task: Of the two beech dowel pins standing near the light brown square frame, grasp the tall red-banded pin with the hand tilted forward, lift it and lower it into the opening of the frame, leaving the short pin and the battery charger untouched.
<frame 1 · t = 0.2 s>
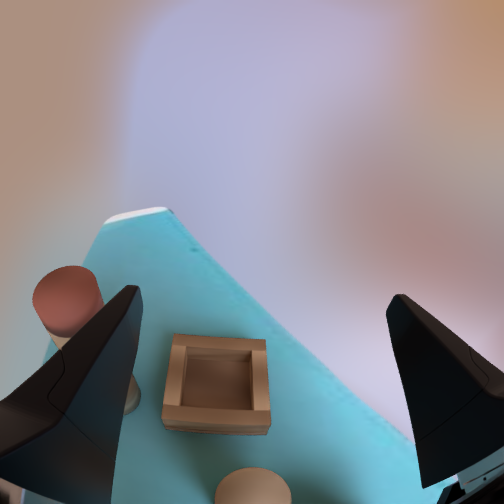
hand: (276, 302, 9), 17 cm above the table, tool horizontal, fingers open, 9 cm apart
short pin: (242, 502, 15), on the table
light brown square frame: (217, 391, 23), on the table
long pin: (118, 394, 21), on the table
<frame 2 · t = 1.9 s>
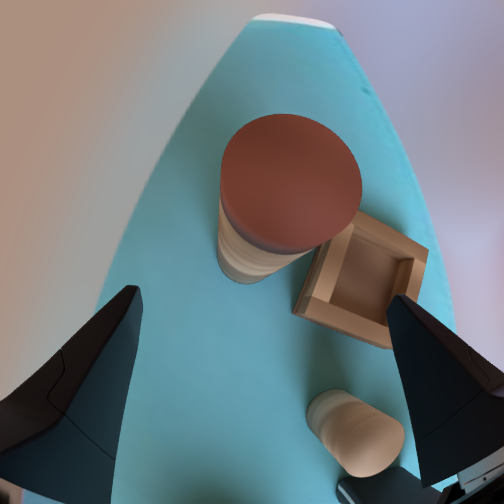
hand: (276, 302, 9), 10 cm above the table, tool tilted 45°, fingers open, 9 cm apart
short pin: (331, 412, 19), on the table
battery charger: (366, 485, 18), on the table
light brown square frame: (357, 282, 21), on the table
long pin: (246, 255, 20), on the table
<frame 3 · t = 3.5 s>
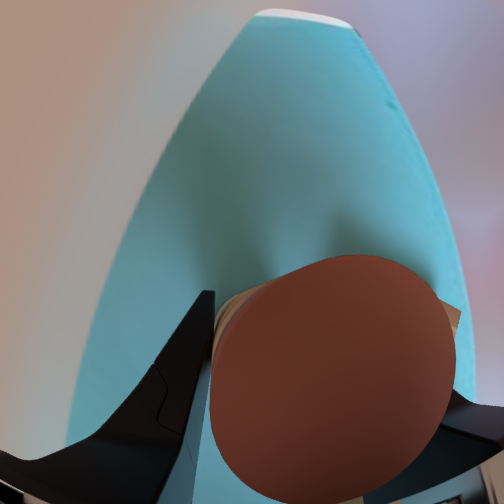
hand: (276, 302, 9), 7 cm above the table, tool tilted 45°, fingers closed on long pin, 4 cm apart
light brown square frame: (379, 349, 17), on the table
long pin: (249, 327, 16), on the table, touching gripper
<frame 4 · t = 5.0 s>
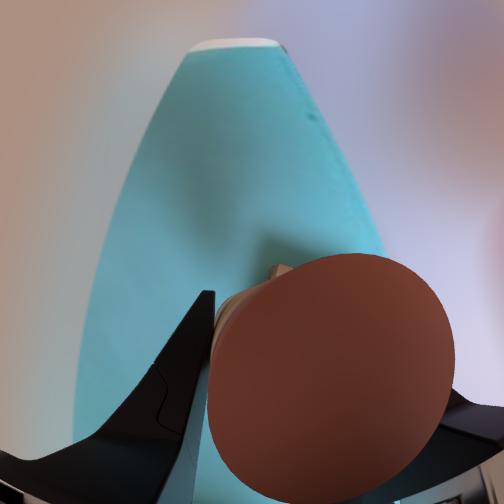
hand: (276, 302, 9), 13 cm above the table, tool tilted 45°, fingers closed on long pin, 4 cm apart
battery charger: (337, 497, 20), on the table
long pin: (249, 326, 16), point 6 cm above the table, touching gripper
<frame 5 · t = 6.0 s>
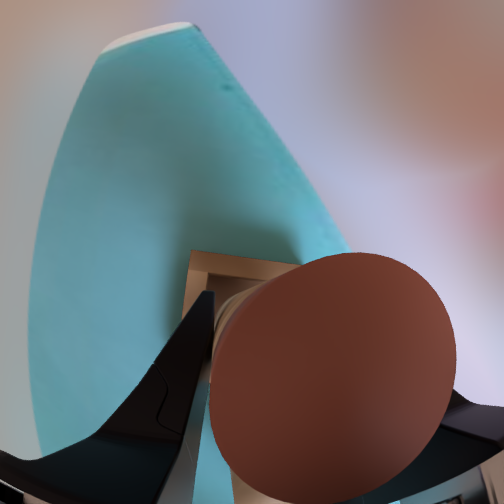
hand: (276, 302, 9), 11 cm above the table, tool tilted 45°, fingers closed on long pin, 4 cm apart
short pin: (254, 448, 18), on the table
battery charger: (327, 500, 18), on the table
light brown square frame: (243, 320, 20), on the table
long pin: (249, 326, 16), point 4 cm above the table, touching gripper
when the fingers open (8 cm above the table, at t = 6.8 s): long pin stays where it is, resting on light brown square frame.
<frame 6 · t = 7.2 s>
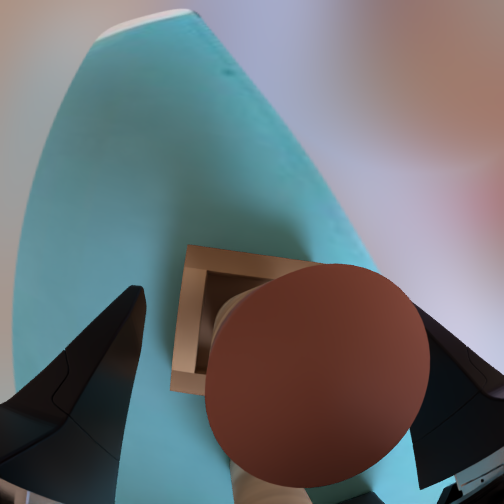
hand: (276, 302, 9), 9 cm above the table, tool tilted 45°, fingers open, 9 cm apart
short pin: (258, 464, 16), on the table
light brown square frame: (247, 325, 18), on the table
long pin: (248, 327, 17), point 1 cm above the table, touching light brown square frame
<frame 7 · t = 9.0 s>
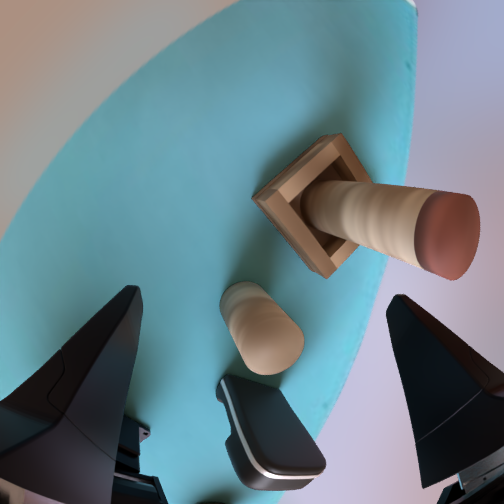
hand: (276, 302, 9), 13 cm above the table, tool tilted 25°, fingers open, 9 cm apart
short pin: (243, 304, 24), on the table
battery charger: (244, 392, 26), on the table
light brown square frame: (317, 203, 23), on the table
long pin: (322, 204, 23), point 1 cm above the table, touching light brown square frame
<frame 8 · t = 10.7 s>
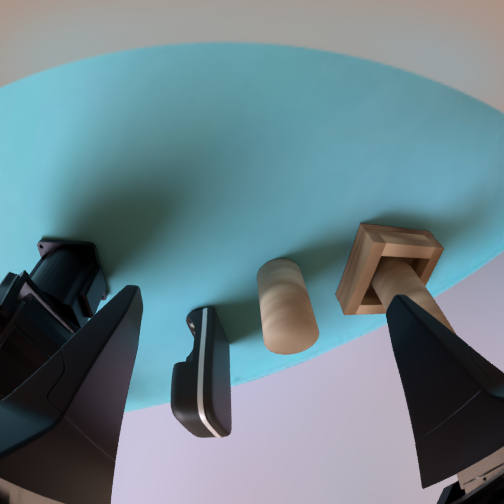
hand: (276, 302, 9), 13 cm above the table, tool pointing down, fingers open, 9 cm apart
short pin: (279, 276, 26), on the table
battery charger: (205, 327, 30), on the table
light brown square frame: (383, 263, 26), on the table
long pin: (386, 268, 25), point 1 cm above the table, touching light brown square frame
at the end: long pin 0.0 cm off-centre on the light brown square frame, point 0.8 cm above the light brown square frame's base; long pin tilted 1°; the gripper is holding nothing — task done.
